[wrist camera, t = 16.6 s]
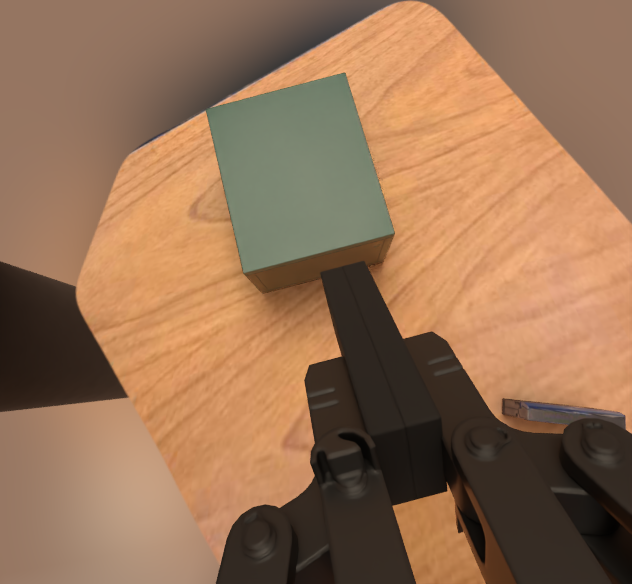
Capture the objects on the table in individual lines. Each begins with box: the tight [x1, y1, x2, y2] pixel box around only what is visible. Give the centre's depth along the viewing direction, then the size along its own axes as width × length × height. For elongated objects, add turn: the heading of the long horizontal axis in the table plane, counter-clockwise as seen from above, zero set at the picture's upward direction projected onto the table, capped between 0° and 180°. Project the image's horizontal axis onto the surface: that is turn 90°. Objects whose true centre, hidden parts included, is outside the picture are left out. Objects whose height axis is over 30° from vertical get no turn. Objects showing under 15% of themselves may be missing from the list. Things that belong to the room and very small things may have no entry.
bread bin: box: [246, 237, 393, 294], centre depth 44 cm, size 16×14×9 cm
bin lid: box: [206, 73, 395, 275], centre depth 39 cm, size 16×14×1 cm
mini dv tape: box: [502, 399, 626, 430], centre depth 40 cm, size 8×2×6 cm, turn 84°
